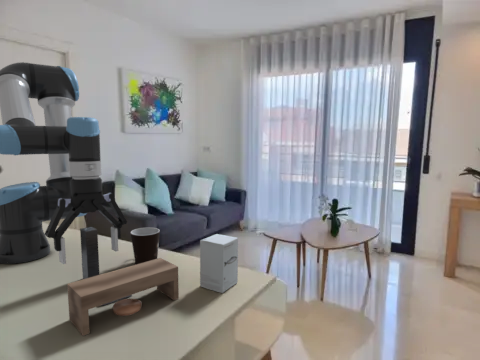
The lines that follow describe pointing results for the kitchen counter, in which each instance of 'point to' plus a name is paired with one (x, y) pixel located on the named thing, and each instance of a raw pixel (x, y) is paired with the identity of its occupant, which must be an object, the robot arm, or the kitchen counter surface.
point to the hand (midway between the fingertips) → (90, 256)
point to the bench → (119, 288)
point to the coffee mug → (145, 244)
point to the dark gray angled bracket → (90, 254)
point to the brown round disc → (127, 307)
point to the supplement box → (218, 262)
